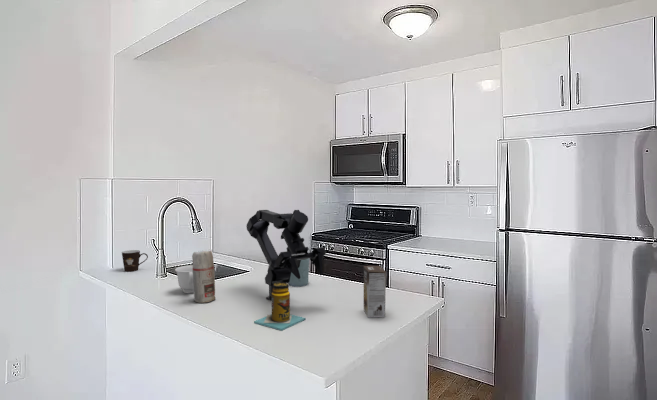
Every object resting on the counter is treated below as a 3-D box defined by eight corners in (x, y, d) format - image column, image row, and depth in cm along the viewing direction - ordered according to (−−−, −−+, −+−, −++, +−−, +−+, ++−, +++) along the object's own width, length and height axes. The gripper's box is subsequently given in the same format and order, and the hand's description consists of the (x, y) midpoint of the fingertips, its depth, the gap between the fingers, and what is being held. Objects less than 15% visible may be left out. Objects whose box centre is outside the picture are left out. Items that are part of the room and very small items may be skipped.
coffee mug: (118, 272, 204) (117, 252, 204) (129, 268, 212) (128, 249, 212) (138, 272, 202) (138, 253, 202) (149, 269, 211) (148, 250, 210)
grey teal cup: (308, 287, 175) (308, 260, 174) (285, 287, 175) (285, 260, 175) (310, 281, 185) (310, 255, 185) (288, 281, 185) (288, 255, 185)
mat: (254, 323, 131) (254, 321, 131) (278, 313, 141) (278, 311, 141) (281, 330, 124) (281, 328, 124) (305, 319, 134) (305, 317, 134)
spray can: (194, 304, 150) (194, 252, 149) (191, 299, 157) (190, 249, 156) (217, 301, 154) (217, 250, 153) (213, 296, 161) (212, 247, 160)
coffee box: (362, 309, 145) (362, 265, 144) (380, 308, 145) (380, 265, 145) (367, 317, 136) (367, 271, 135) (385, 317, 136) (386, 270, 136)
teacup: (175, 298, 158) (174, 273, 157) (175, 289, 171) (174, 266, 171) (207, 295, 162) (206, 271, 162) (204, 286, 176) (203, 264, 175)
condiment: (289, 323, 128) (289, 287, 128) (263, 323, 129) (263, 286, 128) (292, 315, 136) (292, 281, 135) (267, 315, 136) (267, 281, 135)
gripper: (306, 251, 157) (322, 285, 148) (263, 256, 145) (279, 293, 137) (317, 233, 150) (335, 268, 142) (274, 238, 139) (291, 275, 131)
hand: (310, 276), depth 138 cm, fingers open, 9 cm apart
